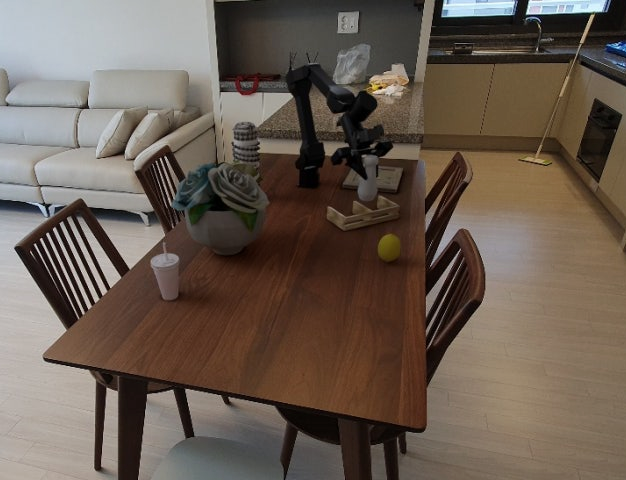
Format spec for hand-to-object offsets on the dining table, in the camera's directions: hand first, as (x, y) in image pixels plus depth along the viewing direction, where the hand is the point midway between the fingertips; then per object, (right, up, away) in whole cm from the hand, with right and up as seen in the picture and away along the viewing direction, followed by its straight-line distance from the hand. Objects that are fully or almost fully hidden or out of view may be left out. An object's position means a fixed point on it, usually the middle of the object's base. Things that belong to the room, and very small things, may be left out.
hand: (371, 178), depth 134 cm
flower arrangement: (-42, -21, -7) cm, 47 cm away
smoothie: (-54, -34, -26) cm, 69 cm away
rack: (-1, -10, +8) cm, 13 cm away
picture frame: (+9, +8, +36) cm, 38 cm away
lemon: (0, -26, -16) cm, 30 cm away
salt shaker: (0, -5, +5) cm, 7 cm away
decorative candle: (-37, -2, +23) cm, 43 cm away
